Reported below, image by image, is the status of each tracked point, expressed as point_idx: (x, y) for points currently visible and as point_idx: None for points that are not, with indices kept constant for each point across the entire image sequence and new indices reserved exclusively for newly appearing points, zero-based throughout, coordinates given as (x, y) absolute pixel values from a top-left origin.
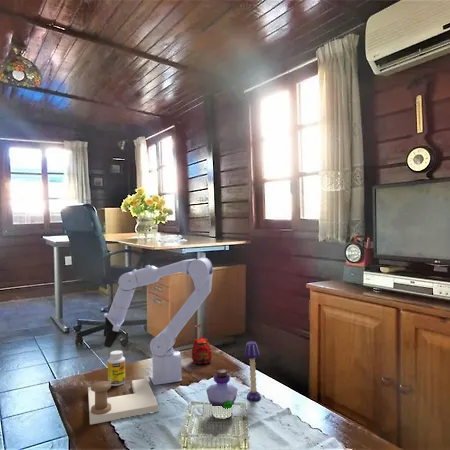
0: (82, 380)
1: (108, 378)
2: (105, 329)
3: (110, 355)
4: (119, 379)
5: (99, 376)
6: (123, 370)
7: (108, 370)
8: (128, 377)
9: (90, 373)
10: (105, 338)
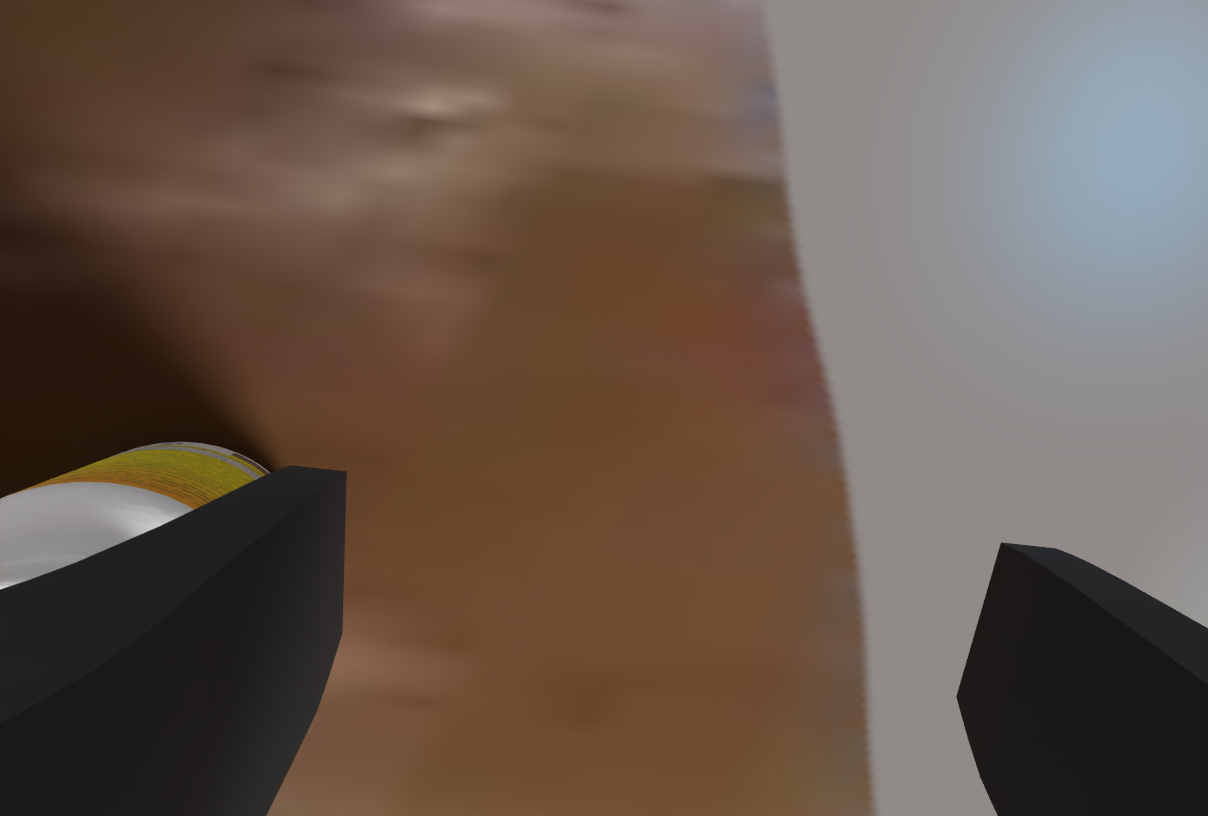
0: (537, 118)
1: (124, 452)
2: (1120, 665)
3: (10, 569)
4: None
5: (578, 367)
6: None
7: (84, 468)
8: (334, 762)
9: (756, 264)
10: (212, 543)
